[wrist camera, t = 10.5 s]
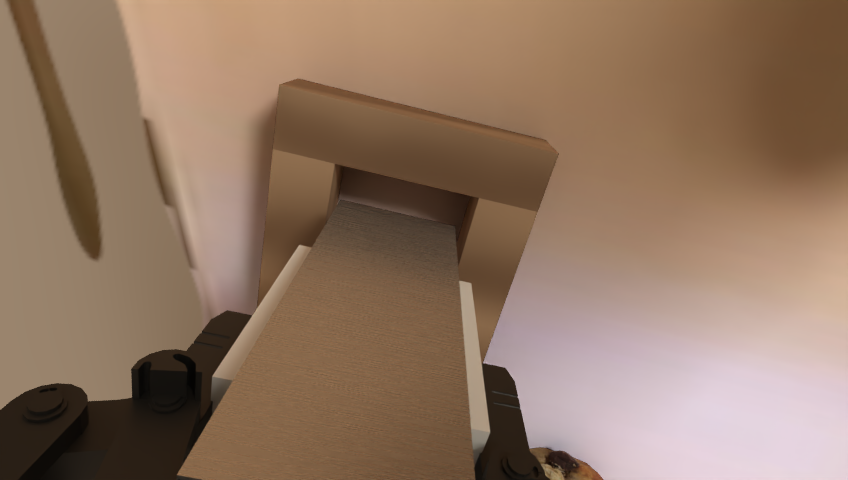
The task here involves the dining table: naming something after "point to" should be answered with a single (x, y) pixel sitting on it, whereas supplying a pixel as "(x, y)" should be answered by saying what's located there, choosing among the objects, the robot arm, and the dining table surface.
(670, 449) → the dining table surface
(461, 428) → the square bit
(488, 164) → the socket block
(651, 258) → the dining table surface
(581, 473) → the bread roll
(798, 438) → the dining table surface
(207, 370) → the robot arm
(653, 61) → the dining table surface
